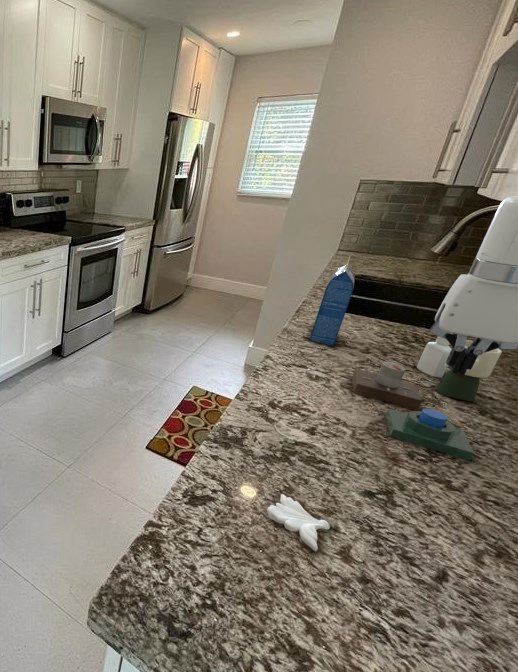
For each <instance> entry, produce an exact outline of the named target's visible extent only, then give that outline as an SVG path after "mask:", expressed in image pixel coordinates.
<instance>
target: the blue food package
mask: <svg viewBox="0 0 518 672" xmlns="http://www.w3.org/2000/svg"><path fill="white" fill-rule="evenodd" d="M350 259H351V256H349V257H348V260H347V262H346V264H345V265H343V266H340V267H339V268H338V269H336V270H335V271H333V273H332V274H331V275H330V277H329V279H328V280H327V283H326V285H325V289H324V292H323V296H322V299H321V303H320V306H319V308H318V311H317V313H316V317H315V320H314V324H313V327H312V329H311V333H310V335H309V338H308V340H309V341H312V342H317V343H319V344H320V343H321V344H325V345H328V346H332V347H334V346H335V344H336V341H337V338H338V336H339V332H340V329H341V326H342V323H343V321H344V318H345V315H346V312H347V309H348V306H349V304H350V301H351V298H352V295H353V292H354V288H355V281H356V280H355V273H354V271H353V270H352V269H351V266H350V265H349V262H350Z"/></svg>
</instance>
